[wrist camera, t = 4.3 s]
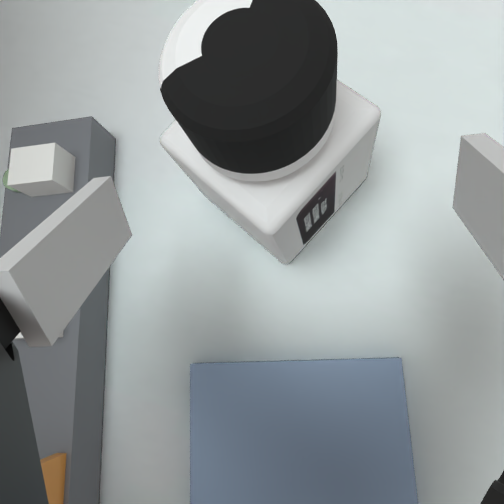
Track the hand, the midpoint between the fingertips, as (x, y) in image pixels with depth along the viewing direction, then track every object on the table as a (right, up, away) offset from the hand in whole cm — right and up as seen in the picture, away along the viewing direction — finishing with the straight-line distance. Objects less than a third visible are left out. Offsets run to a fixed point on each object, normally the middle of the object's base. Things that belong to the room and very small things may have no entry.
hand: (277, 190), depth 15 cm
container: (+1, +2, +11) cm, 11 cm away
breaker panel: (-13, -7, +11) cm, 19 cm away
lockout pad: (+2, -15, +7) cm, 16 cm away
